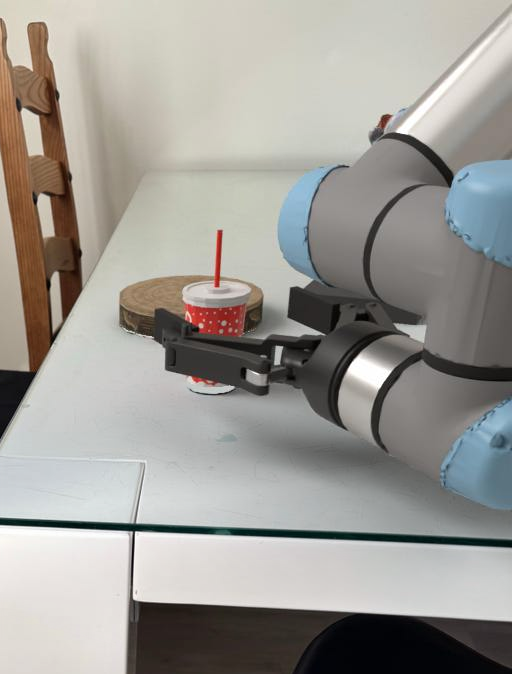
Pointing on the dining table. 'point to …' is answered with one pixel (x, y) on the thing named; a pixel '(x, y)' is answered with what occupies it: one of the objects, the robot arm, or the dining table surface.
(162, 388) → the dining table surface
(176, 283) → the wood slice
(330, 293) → the scale
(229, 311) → the beverage cup
